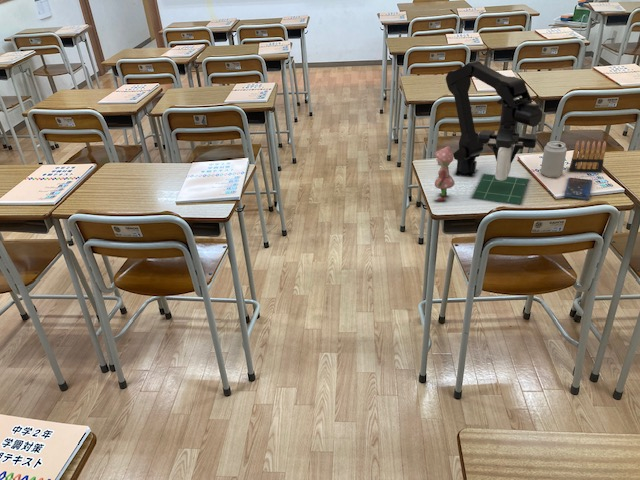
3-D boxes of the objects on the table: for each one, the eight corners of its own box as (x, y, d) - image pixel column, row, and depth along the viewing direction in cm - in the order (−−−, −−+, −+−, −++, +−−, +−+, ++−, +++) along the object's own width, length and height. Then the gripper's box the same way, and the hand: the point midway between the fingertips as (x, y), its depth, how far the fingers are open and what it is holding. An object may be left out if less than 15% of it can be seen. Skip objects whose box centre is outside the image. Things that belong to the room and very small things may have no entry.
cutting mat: (472, 198, 172) (472, 197, 171) (483, 174, 186) (483, 173, 186) (519, 204, 165) (520, 203, 164) (528, 179, 179) (528, 178, 179)
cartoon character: (450, 206, 168) (453, 152, 157) (429, 203, 171) (431, 151, 160) (456, 193, 176) (459, 141, 165) (437, 191, 178) (439, 139, 168)
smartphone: (592, 179, 172) (589, 198, 162) (591, 181, 173) (588, 200, 162) (568, 177, 176) (564, 195, 165) (568, 179, 176) (563, 197, 166)
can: (564, 178, 177) (569, 147, 171) (542, 178, 179) (547, 147, 173) (559, 169, 183) (565, 139, 177) (538, 169, 185) (543, 140, 179)
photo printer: (499, 168, 177) (503, 136, 170) (511, 169, 175) (515, 137, 168) (493, 180, 170) (497, 147, 163) (506, 181, 168) (510, 148, 161)
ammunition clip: (600, 170, 180) (607, 139, 173) (601, 172, 178) (608, 141, 172) (568, 169, 183) (574, 139, 176) (569, 171, 181) (575, 141, 175)
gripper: (475, 125, 159) (471, 168, 168) (536, 129, 151) (529, 174, 160) (482, 113, 167) (478, 155, 176) (540, 117, 160) (533, 161, 168)
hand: (504, 161), depth 170 cm, fingers closed on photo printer, 4 cm apart
